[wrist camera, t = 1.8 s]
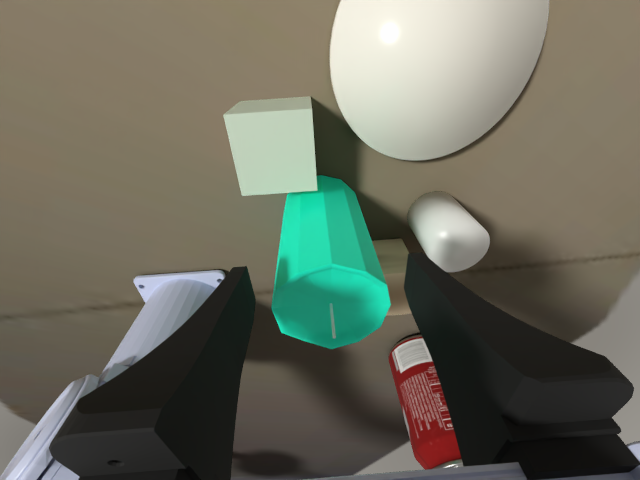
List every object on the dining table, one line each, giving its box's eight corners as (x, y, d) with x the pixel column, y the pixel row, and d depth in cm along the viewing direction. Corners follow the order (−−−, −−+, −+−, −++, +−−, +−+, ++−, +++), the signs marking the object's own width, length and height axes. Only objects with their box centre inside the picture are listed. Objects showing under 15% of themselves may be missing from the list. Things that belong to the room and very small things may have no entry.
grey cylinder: (451, 232, 24) (481, 270, 20) (404, 235, 24) (425, 274, 20) (461, 189, 22) (497, 221, 18) (410, 193, 22) (434, 226, 18)
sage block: (315, 164, 21) (317, 190, 17) (253, 169, 21) (242, 195, 17) (310, 96, 18) (311, 108, 14) (240, 101, 18) (223, 114, 14)
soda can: (381, 338, 32) (415, 469, 22) (441, 323, 31) (505, 452, 21) (393, 370, 36) (427, 494, 26) (447, 357, 35) (504, 481, 25)
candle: (305, 160, 20) (305, 267, 10) (373, 196, 22) (429, 316, 12) (271, 224, 23) (246, 356, 13) (334, 251, 25) (354, 385, 15)
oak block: (396, 277, 27) (411, 313, 23) (349, 280, 27) (356, 317, 23) (401, 238, 25) (418, 271, 21) (349, 241, 25) (357, 276, 21)
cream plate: (498, 148, 20) (508, 154, 19) (332, 160, 20) (333, 166, 19) (571, -101, 14) (591, -112, 13) (324, -84, 14) (325, -95, 13)
